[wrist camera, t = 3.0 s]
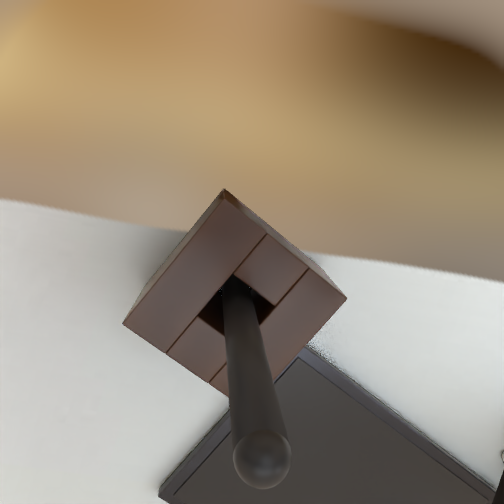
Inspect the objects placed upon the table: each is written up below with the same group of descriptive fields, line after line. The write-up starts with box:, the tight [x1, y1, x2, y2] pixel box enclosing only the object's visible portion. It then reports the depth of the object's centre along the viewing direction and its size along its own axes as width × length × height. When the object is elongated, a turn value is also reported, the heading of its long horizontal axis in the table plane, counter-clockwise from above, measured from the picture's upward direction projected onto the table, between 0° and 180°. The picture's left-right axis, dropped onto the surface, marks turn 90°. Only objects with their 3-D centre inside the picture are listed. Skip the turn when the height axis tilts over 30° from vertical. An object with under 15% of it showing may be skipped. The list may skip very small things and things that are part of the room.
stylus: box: [222, 273, 292, 489], centre depth 16 cm, size 1×1×14 cm
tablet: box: [158, 345, 497, 504], centre depth 26 cm, size 18×13×1 cm
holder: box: [122, 189, 347, 397], centre depth 20 cm, size 7×7×5 cm
